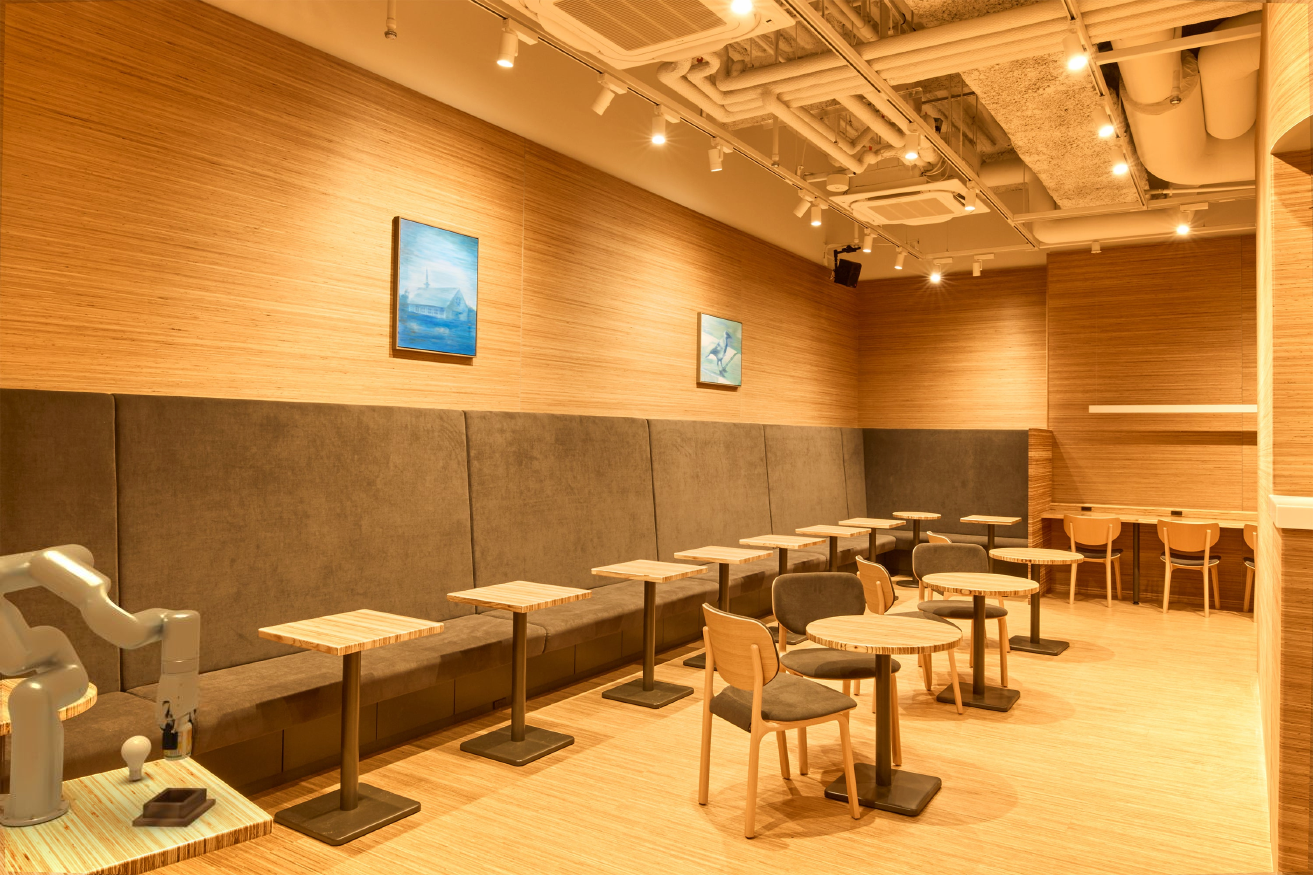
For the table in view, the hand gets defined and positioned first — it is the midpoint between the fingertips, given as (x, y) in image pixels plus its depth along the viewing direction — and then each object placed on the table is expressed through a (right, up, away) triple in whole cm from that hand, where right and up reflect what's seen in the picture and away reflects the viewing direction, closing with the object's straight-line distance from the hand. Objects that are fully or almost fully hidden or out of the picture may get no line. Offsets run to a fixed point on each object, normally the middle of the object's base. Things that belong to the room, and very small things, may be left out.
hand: (177, 743), depth 185 cm
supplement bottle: (0, -3, 0) cm, 3 cm away
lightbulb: (-22, -16, +18) cm, 33 cm away
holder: (0, -16, 0) cm, 16 cm away
